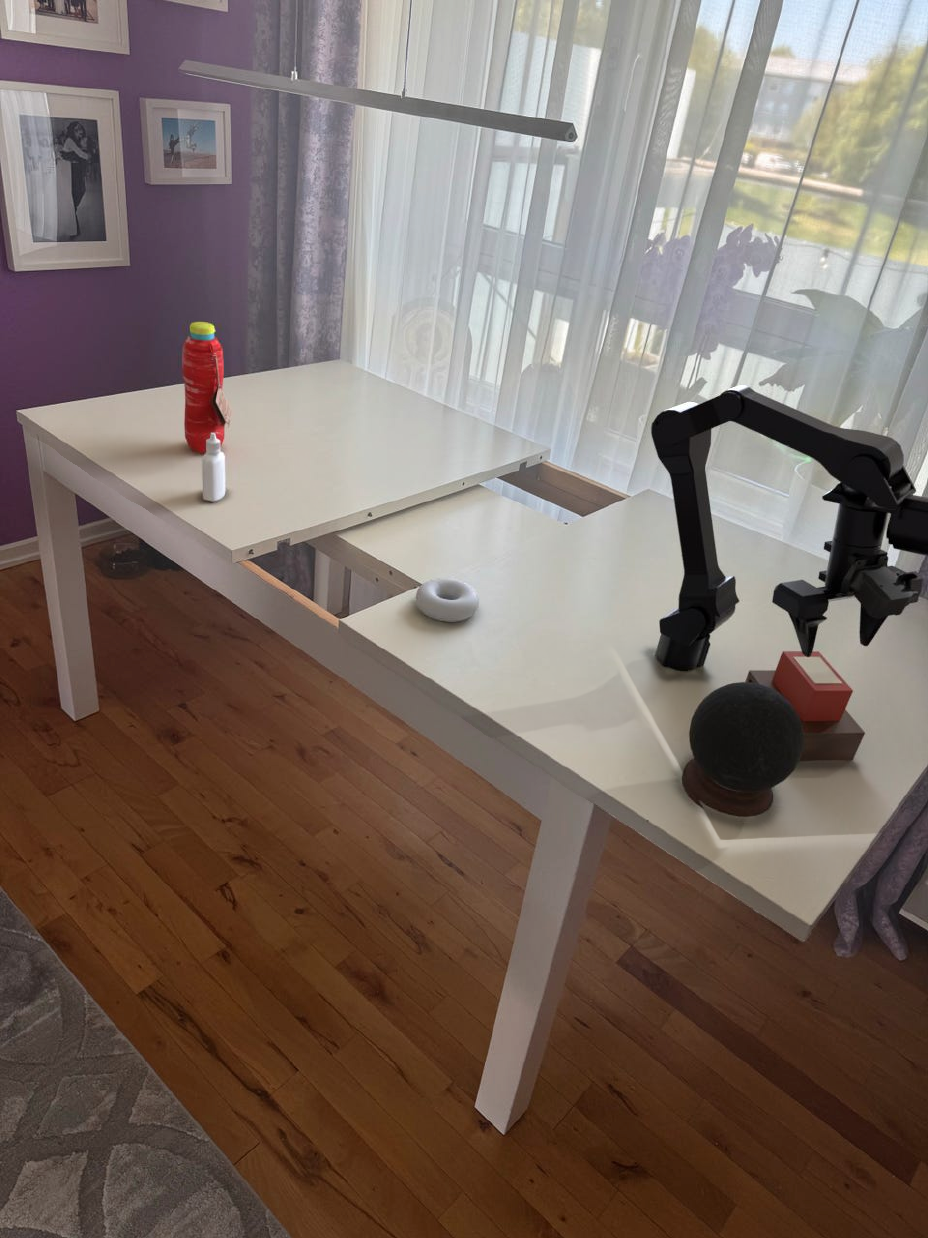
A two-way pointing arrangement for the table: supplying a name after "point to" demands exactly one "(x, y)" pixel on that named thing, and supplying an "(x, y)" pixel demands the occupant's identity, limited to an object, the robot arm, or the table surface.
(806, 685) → the carton
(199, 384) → the water bottle
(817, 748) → the block
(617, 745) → the table surface
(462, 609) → the donut
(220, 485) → the eye dropper bottle
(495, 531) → the table surface
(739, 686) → the sphere on wooden stand
